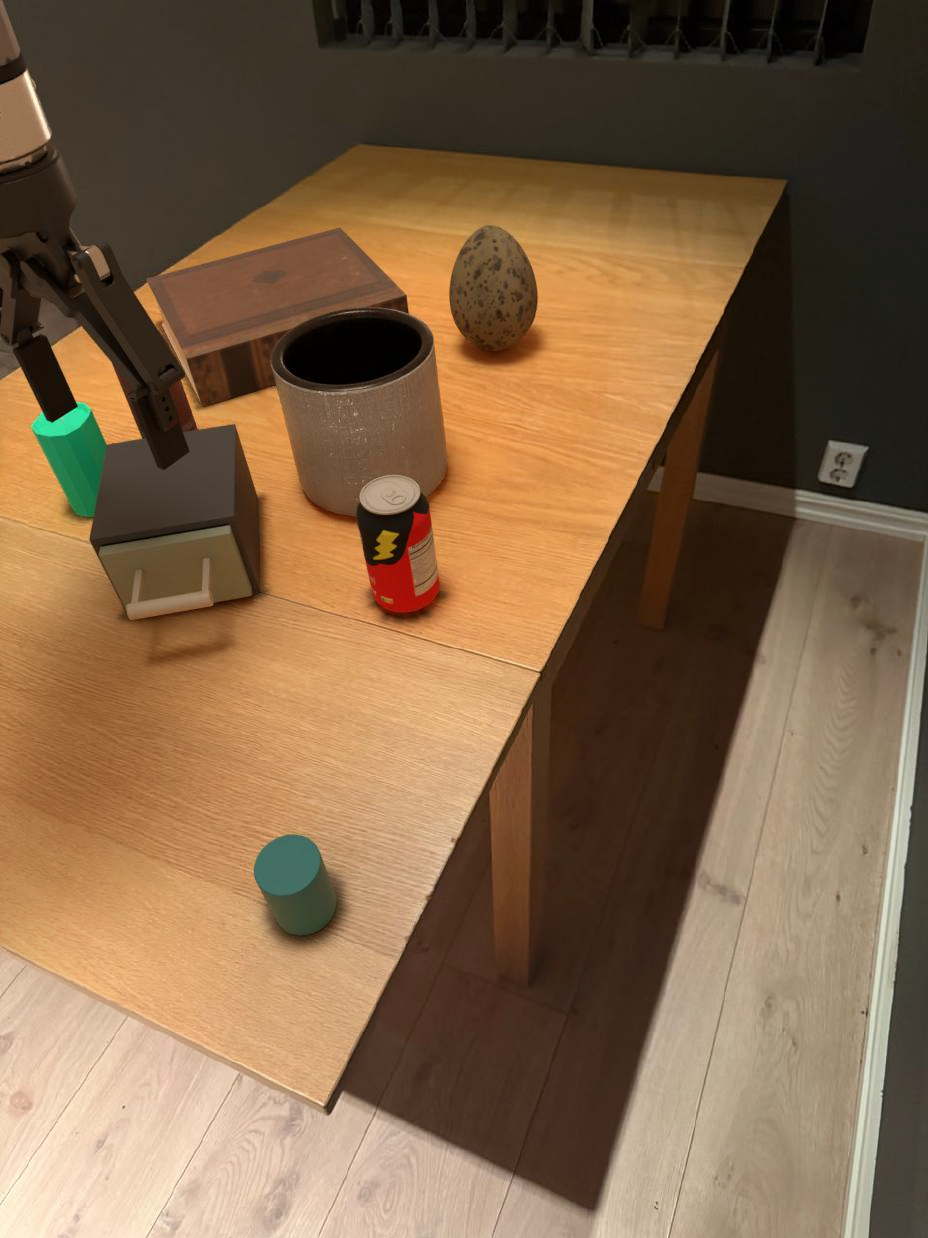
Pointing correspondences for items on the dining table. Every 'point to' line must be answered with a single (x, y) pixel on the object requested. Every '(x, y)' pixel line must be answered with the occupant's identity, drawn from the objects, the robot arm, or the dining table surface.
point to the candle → (74, 455)
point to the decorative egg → (493, 290)
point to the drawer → (176, 571)
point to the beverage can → (398, 543)
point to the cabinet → (179, 494)
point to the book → (262, 306)
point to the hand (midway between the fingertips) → (116, 435)
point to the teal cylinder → (295, 884)
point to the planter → (360, 403)
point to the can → (178, 399)
